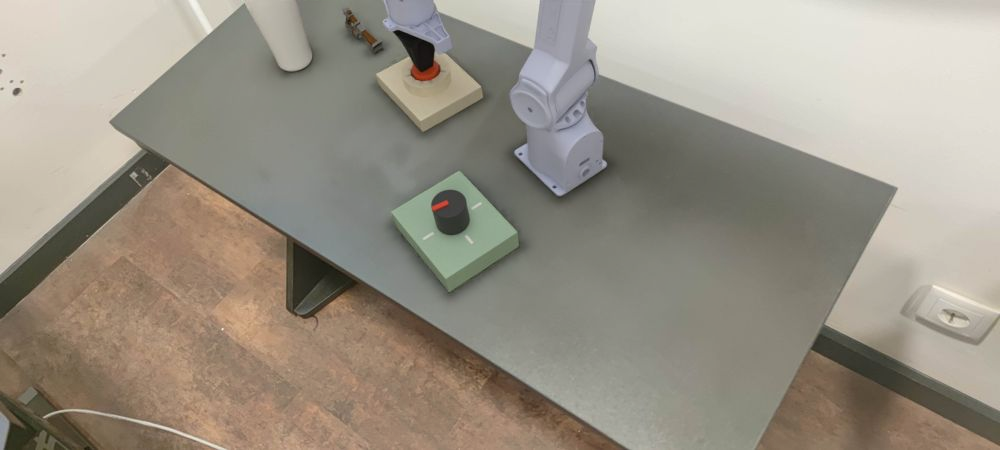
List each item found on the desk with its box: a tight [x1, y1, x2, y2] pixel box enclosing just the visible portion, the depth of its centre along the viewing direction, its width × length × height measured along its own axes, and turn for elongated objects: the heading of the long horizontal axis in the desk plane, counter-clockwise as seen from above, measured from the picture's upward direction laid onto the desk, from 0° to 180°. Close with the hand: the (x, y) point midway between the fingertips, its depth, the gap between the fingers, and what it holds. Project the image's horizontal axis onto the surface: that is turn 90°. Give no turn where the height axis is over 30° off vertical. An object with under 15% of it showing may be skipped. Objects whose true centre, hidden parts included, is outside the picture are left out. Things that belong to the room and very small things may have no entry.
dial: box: [431, 190, 470, 235], centre depth 80 cm, size 4×4×4 cm
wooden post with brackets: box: [341, 6, 383, 54], centre depth 106 cm, size 2×8×4 cm, turn 44°
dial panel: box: [390, 170, 520, 293], centre depth 83 cm, size 12×10×3 cm
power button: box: [412, 60, 439, 81], centre depth 96 cm, size 4×4×2 cm
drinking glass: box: [243, 0, 313, 72], centre depth 99 cm, size 7×7×15 cm
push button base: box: [375, 52, 484, 133], centre depth 97 cm, size 12×10×4 cm
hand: (424, 66), depth 95 cm, fingers closed, pressing on power button
